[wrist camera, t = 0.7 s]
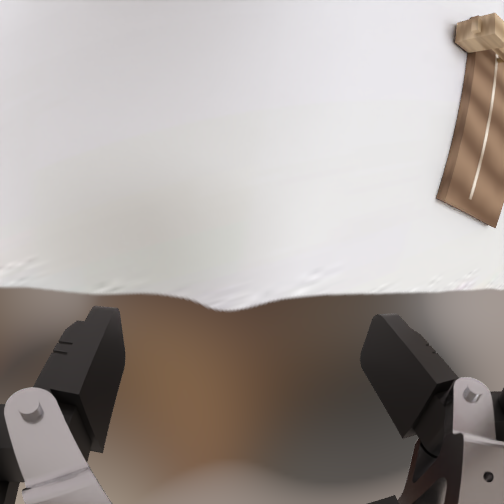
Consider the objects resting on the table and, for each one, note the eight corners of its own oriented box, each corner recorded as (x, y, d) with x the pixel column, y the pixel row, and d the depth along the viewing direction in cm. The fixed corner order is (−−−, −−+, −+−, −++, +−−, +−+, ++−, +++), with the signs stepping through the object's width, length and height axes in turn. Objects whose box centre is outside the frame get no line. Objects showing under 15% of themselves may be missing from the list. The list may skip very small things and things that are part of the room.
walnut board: (470, 17, 28) (478, 15, 26) (518, 63, 31) (526, 62, 29) (436, 198, 38) (445, 201, 36) (487, 224, 41) (495, 228, 39)
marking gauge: (453, 20, 28) (491, 9, 20) (492, 53, 30) (529, 49, 22) (451, 39, 29) (491, 30, 22) (490, 72, 31) (529, 70, 23)
